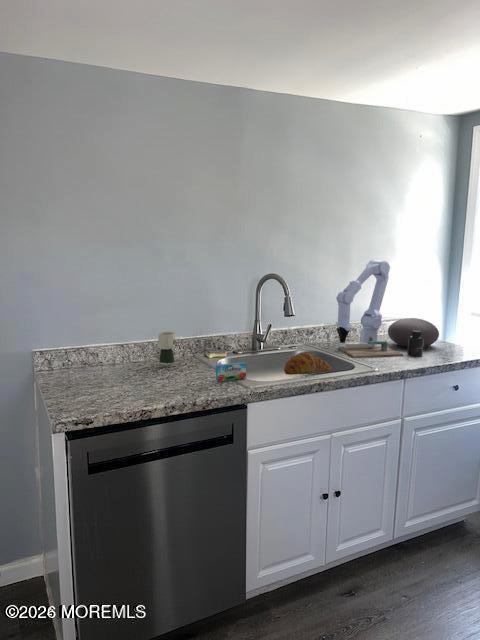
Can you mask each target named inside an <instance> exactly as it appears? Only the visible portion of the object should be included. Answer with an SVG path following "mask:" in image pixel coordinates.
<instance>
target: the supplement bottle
mask: <svg viewBox="0 0 480 640" xmlns="http://www.w3.org/2000/svg"><path fill="white" fill-rule="evenodd" d="M411 335H412V336H410V337H409V340H408V347H407V353H406V354H407V356H409V357H414V358H421V357H423V353H424V347H423V345H424V338H423V337H422V331H418V330H412V332H411Z"/></svg>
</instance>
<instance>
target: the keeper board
mask: <svg viewBox="0 0 480 640" xmlns="http://www.w3.org/2000/svg"><path fill="white" fill-rule="evenodd" d="M368 344H370V345H374V344H377V345H380V346H374V348H358V349H345V348H344V346H338V350H339V351H341V352H343V353H344V354H346V355H348V356H350V357H351V358H355V359H358V358H359V359H360V358H361V359H362V358H363V359H364V358H391V357H404V353H401V352H400V351H397V350H395V349H393V348H391V347H388V341H386V340H377V341H368Z"/></svg>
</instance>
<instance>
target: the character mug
mask: <svg viewBox="0 0 480 640" xmlns="http://www.w3.org/2000/svg"><path fill="white" fill-rule="evenodd" d="M157 339H158V344H157V346H158V349H160V353H159V361H158V362H159V364H167V365H168V364H173V363H175V355H174V351H173V349H175V348H176V333H175V332H173V331H161V332H158V333H157Z"/></svg>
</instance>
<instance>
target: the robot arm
mask: <svg viewBox="0 0 480 640" xmlns="http://www.w3.org/2000/svg"><path fill="white" fill-rule="evenodd" d="M390 270H391V265H390V263H389V262H388V261H387V260H379V259H378V260H375V259H371V260H370V261H369V262H368V263H367V264H366V265H365V268H364V269H363V271H362V272H361V273H360V274H359V276H358V277H357V278H356V279H355V280H352V281H350V282H349V284H348V285H347V286H346V287H345V288H344V289H343V291H340V292H338V294H337V296H336V298H335V299H336V302H337V305H338V309H337V310H338V311H337V321H336V322H335V326H336V327H337V328H336V332H337V335H338V340H339V343H341V344H344V343H346V340H347V337H348V335H349V333H350V332H351V331H352V326H351V325H350V316H351V304H352V303H353V302H354V299H355V296H356V295H357V294H358V292H359V291H361V289H362V285H363V284H364V283H365V282H366V281H367V280H368V279H369V278H370V277H371V276H373V277H375V279H376V281H375V285H374V288H373V292H372V296H371V300H370V303H369V307H368V309H366V310H365V311H364V312H363V315H362V316H361V318H360V324H361V326H362V328H361V329H360V331H359V333H360V334H359V335H360V336H359V342H357V343H364V342H368V341H369V337H372V341H378V332H379V331H378V330H379V329H380V327H381V326H382V322H383V321H382V319H383V316H382V314H381V312H380V310H381V307H382V302H383V299H384V296H385V293H386V288H387V285H388V282H389V277H390V276H389V273H390ZM374 346H381V344H374Z"/></svg>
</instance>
